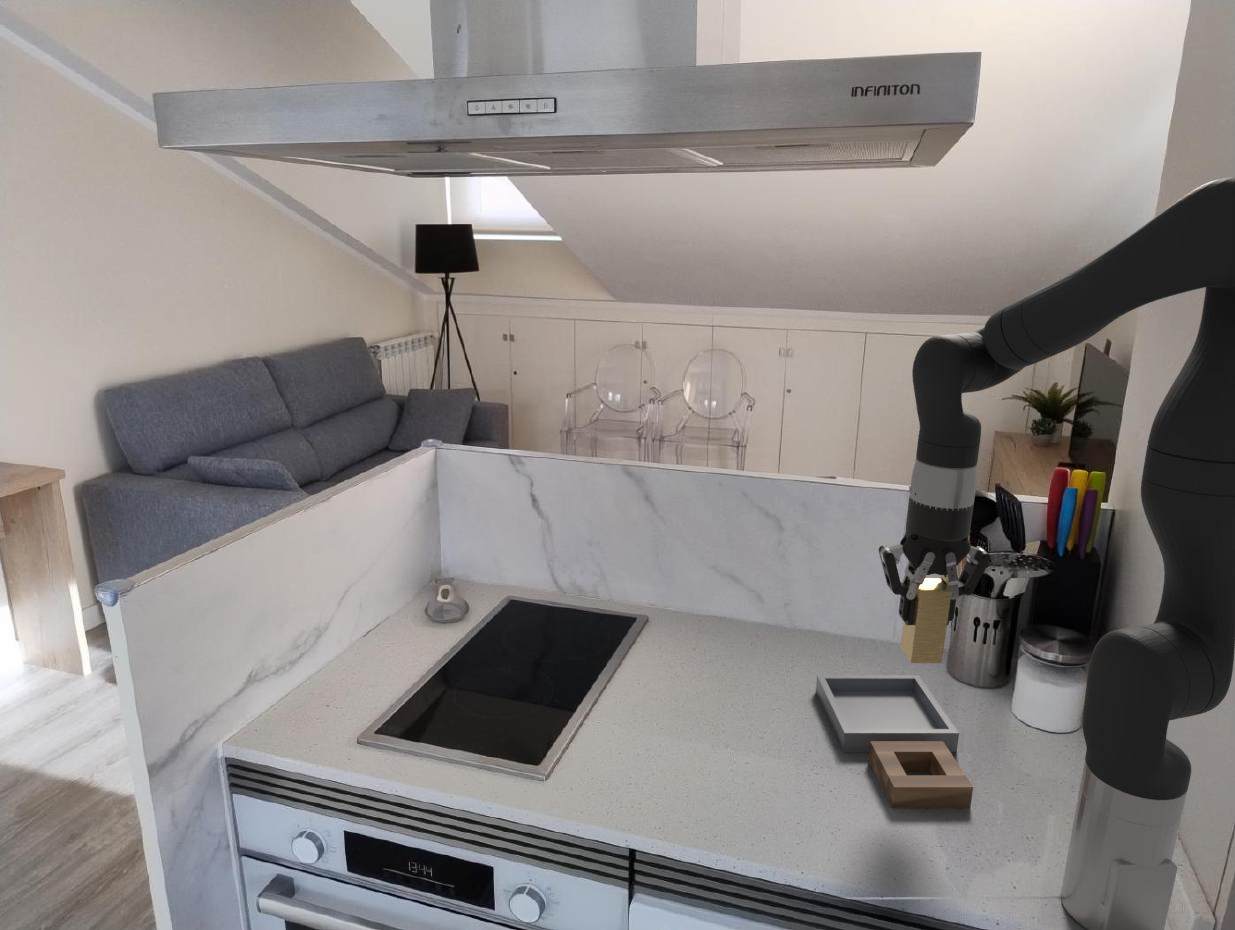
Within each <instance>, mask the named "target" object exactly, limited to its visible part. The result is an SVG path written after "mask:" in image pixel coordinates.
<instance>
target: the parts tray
mask: <svg viewBox="0 0 1235 930" xmlns="http://www.w3.org/2000/svg"><path fill="white" fill-rule="evenodd" d="M815 684H816V685H815V694H816V696H817V698H818V700H819V702H820V705H821V707H822V710H823V712H824V714H825V716H826V718H827V720H828V722H829V724H830V725H829V726H830V727H831V729H832V731H833V733H834V736H835V737H836V740H837V742H838V745H839V747H840V749H841V751H842V753H869V751H870V741H943V742H944V743H945V745H946V746H947V748H948V749H949V751H950V752H951V753H957V752H958V743H959V737H960V732H959V730H958V729H957V728H956V726H955V724H954V723H953V722H952V721H951V719H950V717H949V716H948V715H947V713H946V711H945V710H944V709H943V707H941V705H940V704H939V702H938V701H937V699H936V698H935V696H934V695H933V693H932V692H931V690H930V689H929V688H928V686H927V685H926V684H925V682H924V681H923V679H922V678H921V676H920V675H919V674H918V675H917V674H915V675H913V674H902V675H901V674H896V675H894V674H892V675H891V674H885V675H884V674H825V675H824V674H817V675H816V683H815Z"/></svg>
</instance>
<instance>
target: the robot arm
mask: <svg viewBox="0 0 1235 930" xmlns="http://www.w3.org/2000/svg"><path fill="white" fill-rule="evenodd" d="M1203 288H1205V289H1204V290H1205V291H1204V292H1205V293H1204V300H1203V307H1202V312H1201V319H1200V324H1199V328H1198V333H1197V335H1196V338H1195V342H1194V344H1193V346H1192V348H1191V351H1190V353H1189V354H1188V357H1187V359H1186V360H1185V362H1184V364H1183V366H1182V368H1181V370H1180V371H1179V373H1178V375H1177V376H1176V378H1175V380H1174V381H1173V383H1172V384H1171V386H1170V388H1169V390H1168V391H1167V393H1166V394H1165V397H1164V398H1163V400H1162V402H1161V404H1160V406H1159V408H1158V409H1157V412H1156V414H1155V416H1154V419H1153V422H1152V425H1151V429H1150V432H1149V436H1148V440H1147V445H1146V451H1145V457H1144V463H1143V468H1142V477H1141V481H1140V482H1141V483H1140V498H1141V504H1142V508H1143V511H1144V514H1145V516H1146V520H1147V523H1148V526H1149V528H1150V530H1151V532H1152V535H1153V537H1154V539H1155V542H1156V544H1157V545H1158V549H1159V552H1160V555H1161V557H1162V563H1163V571H1164V572H1163V573H1164V575H1163V576H1164V578H1163V586H1162V587H1163V588H1162V593H1161V599H1160V602H1159V603H1160V604H1159V607H1158V611H1157V615H1156V618H1155V620H1154V622H1153V623H1151V624H1145V625H1138V626H1133V627H1132V626H1130V627H1126V628H1119V629H1116V630H1115V629H1114V630H1112V631H1110V632H1107V633H1105V634H1104V635H1103V636H1102V637H1100V638H1099V640H1098V641H1097V643H1096V644H1095V646H1094V647H1093V648H1094V649H1093V651H1092V653H1091V657H1090V659H1089V664H1088V670H1087V671H1088V672H1087V677H1086V686H1085V687H1086V688H1085V695H1084V696H1085V698H1084V704H1083V705H1084V706H1083V713H1082V732H1083V738H1084V741H1085V746H1086V750H1085V757H1084V763H1083V767H1082V771H1081V772H1082V773H1081V779H1080V782H1079V783H1080V784H1079V789H1078V794H1077V801H1076V806H1075V813H1074V816H1073V823H1072V828H1071V833H1070V839H1069V844H1068V851H1067V855H1066V861H1065V867H1064V868H1065V869H1064V874H1063V879H1062V884H1061V890H1060V900H1061V903H1062V904H1063V907H1064V909H1065V910H1066V912H1067V913H1068V914H1069V916H1071V918H1073V920H1075V922H1077V923H1078V924H1080V925H1081V926H1082V927H1083V928H1085V929H1087V930H1165V927H1166V921H1167V917H1168V912H1169V909H1170V904H1171V899H1172V895H1173V891H1174V886H1175V882H1176V877H1177V873H1178V866H1177V864H1176V863H1175V862H1174V860H1173V857H1174V853H1175V848H1176V845H1177V844H1176V843H1177V839H1178V835H1179V830H1180V825H1181V820H1182V818H1183V817H1182V816H1183V814H1184V813H1183V812H1184V808H1185V803H1186V798H1187V794H1188V790H1189V785H1190V781H1191V775H1192V764H1191V761H1190V759H1189V757H1188V755H1187V754H1186V753H1185V751H1184V750H1183V749H1181V748H1180V747H1179V746H1178V745H1176V744H1175V743H1173V742H1172V741H1171V740H1168V739H1167V734H1168V729H1169V724H1170V723H1169V722H1170V721H1173V720H1178V719H1183V718H1189V717H1193V716H1197V715H1202V714H1205V713H1207V712H1210V711H1212V710H1214V709H1215V708H1216V707H1218V706H1220V704H1221V703H1222V702H1223V700H1224V699H1225V698H1226V697H1227V694H1228V692H1229V690H1230V689H1229V688H1230V685H1231V682H1232V679H1233V678H1232V676H1233V670H1234V664H1235V663H1234V661H1235V176H1234V177H1231V176H1228V177H1224V178H1223V177H1222V178H1218V179H1216V180H1215V179H1214V180H1211V181H1207V182H1206V183H1204V184H1202V185H1199V186H1198V187H1196V188H1194V189H1193V190H1191V191H1189V193H1187V194H1185V195H1184V196H1182V197H1180V199H1178V200H1177V201H1175V202H1174V203H1172V204H1171V205H1169V206H1168V207H1167V208H1166V209H1164V210H1163V211H1161V212H1160V213H1159V214H1157V215H1156V216H1155V217H1153V218H1152V219H1151V220H1149V221H1148V222H1146V223H1145V224H1144V225H1143V226H1141V227H1139V228H1138V229H1137V230H1136V231H1135V232H1133V233H1131V234H1130V235H1129V236H1127V237H1126V238H1125V239H1122V241H1120V242H1119V243H1117V244H1115V245H1114V246H1113V247H1110V248H1109V249H1108V250H1106V251H1105V252H1103V253H1102V254H1100V255H1099V256H1097V257H1096V258H1094V259H1093V260H1091V261H1089V262H1087V263H1086V264H1084V265H1082V266H1081V267H1079V268H1077V269H1076V270H1073V271H1072V272H1070V273H1068V274H1066V275H1064V276H1062V277H1060V278H1059V279H1057V280H1054V281H1053V282H1051V283H1049V284H1047V285H1044V287H1041V288H1039V289H1037V290H1035V291H1033V292H1031V293H1029V294H1027V295H1025V296H1023V297H1021V298H1019V299H1017V300H1014V301H1012V303H1010V304H1008V305H1006V306H1005V305H1004V307H1002V308H1001V309H999V310H997V311H995V313H993V314H992V315H991V316H990V317H989V318H988V319H987V321H986V322H985V324H984V327H983V328H980V329H977V330H974V331H971V332H965V333H963V332H962V333H961V332H960V333H953V334H948V333H947V334H938V335H935V336H931V337H929V338H928V339H926V340H925V341H924V342H923V343H922V344H921V346H920V347H919V349H918V350H917V351H916V354H915V357H914V361H913V362H912V363H913V364H912V372H911V374H912V375H911V376H912V384H913V392H914V393H913V394H914V398H915V404H916V406H915V407H916V411H917V417H918V421H919V432H918V437H917V445H916V447H917V448H916V455H915V456H916V457H915V462H914V465H913V469H912V474H911V476H910V477H911V479H910V484H909V487H908V488H909V489H908V493H909V497H908V503H907V513H906V520H905V531H904V535H903V537H902V538H901V540H900V543H899V544H895V545H893V546H890V547H888V546H887V545H880V546H879V547H878V553H879V558H880V562H881V566H882V570H883V574H884V577H885V582H886V585H887V586H888V588H889V590H890V591H892V592H893V594H894V595H896V596H898V595H900V599H899V607H898V615H899V617H900V618H901V620H902V621H903V623H904V622H905V623H906V625H913V619H914V611H915V603H916V600H915V597H916V594H917V589H919V587H920V585H922V584H923V582H924V580H925V578H927V576H930V575H937V576H938V575H939V577H940V579H941V581H942V582H943V583H944V584H945V585H946V586H947V588H948V589H950V590H951V591H952V593H951V600H950V607H949V614H948V622H947V627H949V624H950V622H953V620H954V618H955V616H954V615H955V609H956V603H957V599H958V598H959V597H961V596H964V595H965V596H971V595H972V594H973V593H974V591H975V590H976V588H977V586H978V584H979V582H980V580H981V578H982V576H983V574H984V572H985V570H986V569H987V566H988V564H989V563H990V560H991V555H990V553H988V551H986V550H985V549H984V548H983V547H981V546H980V545H979V546H978V545H977V546H973V545H971V544H970V540H969V535H970V533H971V528H972V527H971V525H972V521H973V520H972V519H973V511H974V505H975V504H974V503H975V497H976V491H977V479H978V478H977V477H978V476H977V470H978V469H977V467H978V460H979V454H980V445H981V437H982V424H981V421H980V419H979V418H978V417H977V416H975V415H973V414H971V413H968V412H966V411H964V409H963V401H962V400H963V399H962V398H963V397H962V395H963V394H966V393H968V394H969V393H975V392H979V391H984V390H987V389H990V388H993V387H995V386H997V385H1000V384H1001V383H1003V382H1005V381H1006V380H1008V379H1010V378H1011V377H1013V376H1015V375H1017V374H1018V373H1019V372H1021V371H1022V370H1023V369H1024V368H1027V367H1029V366H1032V365H1034V364H1038V363H1039V362H1042V361H1044V360H1046V359H1049V358H1051V357H1053V356H1057V355H1058V354H1061V353H1063V352H1065V351H1067V350H1070V349H1073V347H1075V346H1078V345H1080V344H1082V343H1083V342H1085V341H1087V340H1088V339H1090V338H1092V337H1093V336H1095V335H1096V334H1098V333H1099V332H1100V331H1102V330H1103V329H1105V328H1106V327H1107V326H1108V325H1110V324H1111V323H1113V322H1114V321H1115V320H1116V319H1118V318H1120V317H1122V316H1123V315H1126V314H1127V313H1129V312H1131V311H1133V310H1136V309H1138V308H1140V307H1143V306H1145V305H1148V304H1150V303H1153V302H1156V301H1159V300H1162V299H1166V298H1169V297H1172V296H1177V295H1180V294H1183V293H1187V292H1191V291H1195V290H1200V289H1203ZM903 554H904V556H905V557H906V559H907V564H906V567H905V570H904V577H903V579H902V581H901V577H900V575H899V574H900V573H899V569H898V566H897V565H898V564H899V563H900V561H901V556H902V555H903ZM965 557H966V558H965ZM964 559H966V563H965V565H964V567H963V568H962V572H961V573H960V575H959V577H958V568H957V567H958V566H959V564H961V562H962V561H963V560H964Z"/></svg>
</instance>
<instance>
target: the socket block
mask: <svg viewBox="0 0 1235 930" xmlns="http://www.w3.org/2000/svg"><path fill="white" fill-rule="evenodd" d="M868 762H869V765H870V767H871V769H872V771H873V773H874V775H875V777H876V779H877V781H878V783H879V784H880V787H881V789H882V790H883V792H884V795H885V797H886V798H887V801H888V803H889V805H890V807H891V809H892V808H894V809H897V808H899V809H902V808H905V809H908V808H909V809H912V808H913V809H914V808H915V809H917V808H918V809H921V808H922V809H925V808H927V809H929V808H930V809H933V808H935V809H936V808H937V809H938V808H940V809H941V808H944V809H945V808H950V809H951V808H952V809H953V808H955V809H957V808H958V809H959V808H961V809H962V808H971V807H972V806H971V805H972V799H973V792H974V786H973V785H972V783H971V781H970V780H969V778H968V777H967V775H966V774H965V772H964V771H963V769H962V768H961V766H960V765H959V763H958V761H957V760H956V758H955V757H954V756H953V754H952V752H950V751H949V749H948V748H947V746H946V745H945V743H944V742H943V741H870V751H869V752H868ZM906 772H930V775H928V774H927V775H926V774H925V775H924V774H923V775H922V774H921V775H919V774H917V775H911V774H909V775H908V774H907V773H906Z"/></svg>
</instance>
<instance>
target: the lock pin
mask: <svg viewBox="0 0 1235 930" xmlns="http://www.w3.org/2000/svg"><path fill="white" fill-rule="evenodd" d="M951 593H952V591H951V590H950V589H948V588H947V586H946V585H945V584H944V583H943V582H942V581H941V577H940V578H933V577H930V578H929V577H928V578H927V577H926V578H925V580H924V582H923V584H922V585H920V587H919V589H917V594H916V597H915V600H916V603H915V611H914V619H913V625H906V623H905V622H904V621H903V623H902V624H903V625H902V631H901V642H900V646H899V647H900V648H899V649H901V651H902V653H903V654H904V656H906V659H907V660H908V661H909V663H910V664H942V663H943V657H944V650H945V643H946V636H947V629H948V628H947V627H948V626H947V622H948V614H949V607H950V600H951Z"/></svg>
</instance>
